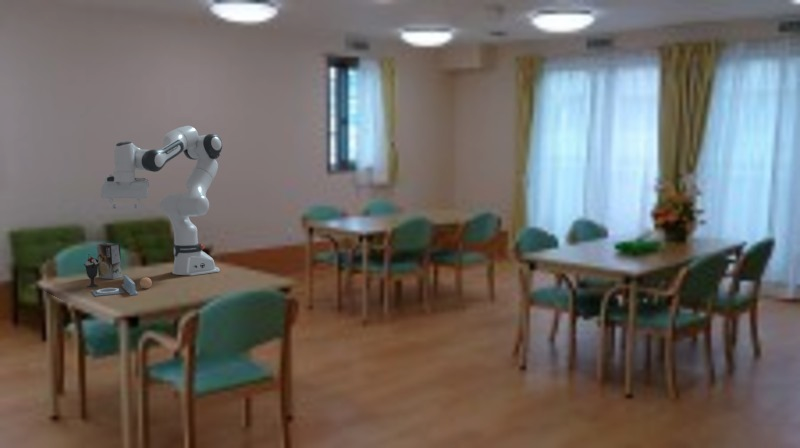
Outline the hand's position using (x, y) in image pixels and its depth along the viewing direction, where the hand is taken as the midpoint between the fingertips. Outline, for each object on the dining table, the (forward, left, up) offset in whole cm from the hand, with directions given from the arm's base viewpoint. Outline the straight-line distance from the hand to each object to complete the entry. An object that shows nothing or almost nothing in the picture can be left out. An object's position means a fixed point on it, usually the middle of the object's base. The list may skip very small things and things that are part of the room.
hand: (125, 208), depth 346 cm
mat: (+11, +17, -35) cm, 40 cm away
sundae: (+15, 0, -35) cm, 38 cm away
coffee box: (+5, -17, -35) cm, 39 cm away
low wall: (+2, +17, -35) cm, 38 cm away
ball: (-5, +17, -32) cm, 36 cm away
